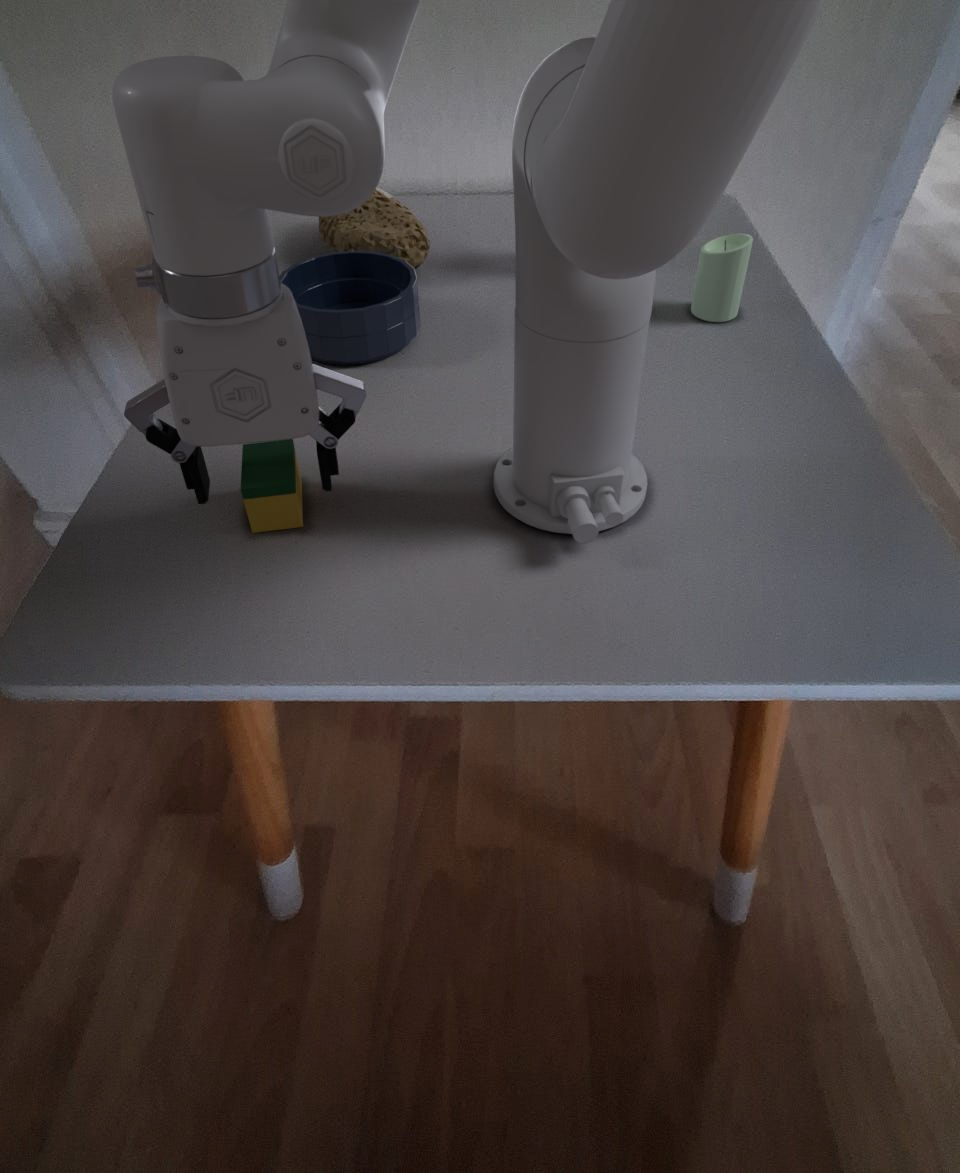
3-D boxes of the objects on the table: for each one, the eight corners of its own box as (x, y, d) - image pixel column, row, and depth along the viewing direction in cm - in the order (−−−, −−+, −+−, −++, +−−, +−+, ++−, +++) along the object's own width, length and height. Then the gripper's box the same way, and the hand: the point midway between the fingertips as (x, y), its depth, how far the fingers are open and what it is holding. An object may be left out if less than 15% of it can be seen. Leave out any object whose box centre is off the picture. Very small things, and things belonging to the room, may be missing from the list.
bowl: (428, 360, 85) (424, 304, 81) (286, 375, 84) (275, 318, 79) (412, 298, 95) (408, 245, 91) (285, 310, 94) (275, 256, 89)
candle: (686, 318, 91) (699, 242, 85) (694, 298, 94) (707, 224, 88) (733, 326, 89) (749, 249, 84) (740, 305, 93) (756, 230, 87)
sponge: (319, 238, 111) (312, 270, 94) (321, 172, 107) (315, 194, 90) (418, 250, 113) (429, 284, 96) (424, 187, 109) (437, 211, 92)
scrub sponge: (303, 527, 67) (293, 483, 64) (252, 533, 66) (240, 489, 63) (301, 482, 71) (292, 438, 68) (253, 487, 71) (242, 444, 68)
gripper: (74, 316, 52) (149, 529, 64) (357, 295, 54) (378, 505, 66) (93, 264, 57) (159, 470, 69) (349, 248, 59) (370, 449, 71)
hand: (266, 487), depth 67 cm, fingers open, 9 cm apart
